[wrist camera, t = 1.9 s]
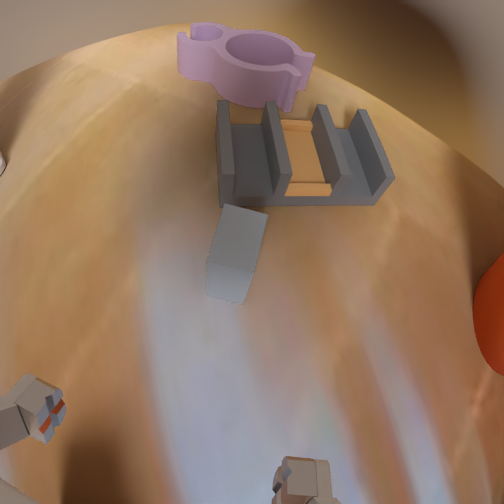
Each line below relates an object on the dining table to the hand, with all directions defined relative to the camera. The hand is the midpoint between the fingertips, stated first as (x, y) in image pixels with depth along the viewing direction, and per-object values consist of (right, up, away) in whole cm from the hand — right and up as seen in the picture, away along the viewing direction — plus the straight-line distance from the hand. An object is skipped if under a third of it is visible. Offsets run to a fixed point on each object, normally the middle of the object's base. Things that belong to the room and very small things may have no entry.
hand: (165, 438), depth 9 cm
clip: (+1, +33, +36) cm, 49 cm away
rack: (+8, +17, +30) cm, 35 cm away
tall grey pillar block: (+1, +4, +23) cm, 23 cm away
